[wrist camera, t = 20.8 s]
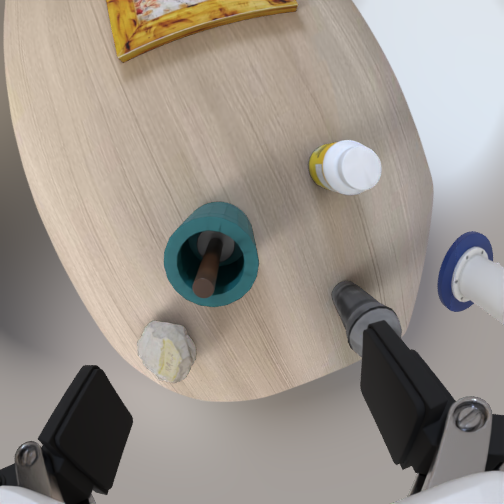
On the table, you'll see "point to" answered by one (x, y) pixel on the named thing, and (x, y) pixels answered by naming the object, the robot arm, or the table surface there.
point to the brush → (211, 260)
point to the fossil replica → (167, 351)
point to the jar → (229, 272)
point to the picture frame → (178, 19)
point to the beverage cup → (360, 312)
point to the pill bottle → (345, 167)
